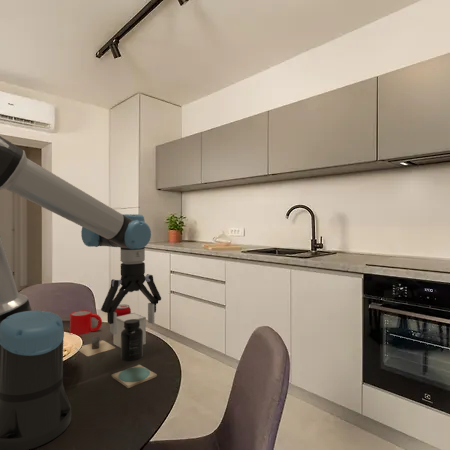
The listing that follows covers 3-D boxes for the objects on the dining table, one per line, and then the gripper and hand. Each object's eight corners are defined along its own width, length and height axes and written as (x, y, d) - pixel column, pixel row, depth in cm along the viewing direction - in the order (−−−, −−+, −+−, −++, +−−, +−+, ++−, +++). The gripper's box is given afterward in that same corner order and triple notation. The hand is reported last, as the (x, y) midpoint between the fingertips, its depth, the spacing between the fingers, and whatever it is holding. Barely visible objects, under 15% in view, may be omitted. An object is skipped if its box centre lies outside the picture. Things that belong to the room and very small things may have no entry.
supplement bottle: (145, 354, 105) (146, 318, 105) (138, 363, 98) (138, 324, 98) (125, 353, 106) (126, 317, 105) (116, 362, 99) (117, 323, 99)
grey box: (125, 351, 107) (125, 322, 107) (113, 345, 112) (113, 317, 112) (145, 345, 112) (145, 317, 112) (133, 339, 118) (133, 312, 118)
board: (87, 358, 101) (87, 343, 101) (74, 349, 108) (74, 336, 108) (116, 349, 109) (116, 336, 109) (102, 341, 115) (103, 329, 115)
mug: (99, 335, 122) (99, 315, 122) (66, 336, 120) (66, 316, 120) (104, 329, 130) (105, 309, 129) (74, 329, 128) (74, 310, 128)
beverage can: (115, 335, 123) (115, 304, 123) (131, 334, 123) (132, 303, 123) (111, 341, 116) (111, 308, 116) (128, 340, 117) (129, 308, 117)
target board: (128, 388, 83) (128, 385, 83) (111, 376, 89) (111, 374, 89) (156, 376, 90) (156, 373, 90) (139, 366, 96) (139, 364, 96)
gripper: (100, 267, 90) (101, 341, 90) (171, 259, 108) (171, 321, 109) (89, 265, 95) (89, 335, 96) (158, 257, 113) (158, 316, 114)
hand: (133, 327), depth 102 cm, fingers open, 13 cm apart
